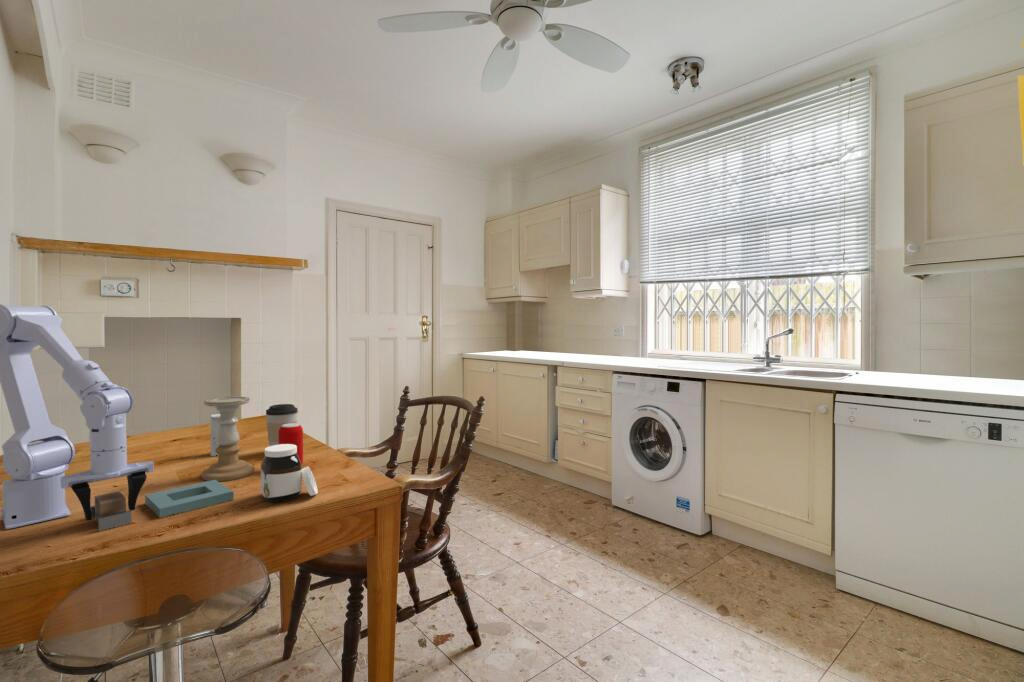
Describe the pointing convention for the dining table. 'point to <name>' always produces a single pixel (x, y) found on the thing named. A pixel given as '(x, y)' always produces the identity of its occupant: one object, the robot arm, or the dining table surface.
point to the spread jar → (284, 474)
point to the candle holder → (227, 442)
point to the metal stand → (112, 519)
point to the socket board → (188, 498)
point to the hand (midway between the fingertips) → (110, 513)
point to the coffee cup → (279, 420)
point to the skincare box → (214, 433)
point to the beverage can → (292, 437)
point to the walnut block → (109, 504)
